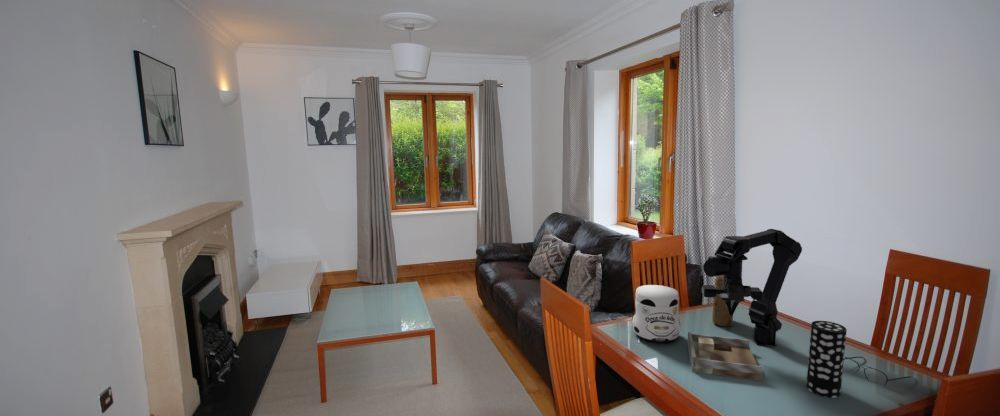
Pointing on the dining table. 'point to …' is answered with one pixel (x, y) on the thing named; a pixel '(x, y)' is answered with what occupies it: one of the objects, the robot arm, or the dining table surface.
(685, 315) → the dining table surface
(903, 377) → the glasses
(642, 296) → the milk container
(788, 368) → the dining table surface
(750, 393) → the dining table surface
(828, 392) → the spotted tube
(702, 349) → the beech block
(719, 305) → the block
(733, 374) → the shallow wooden tray
